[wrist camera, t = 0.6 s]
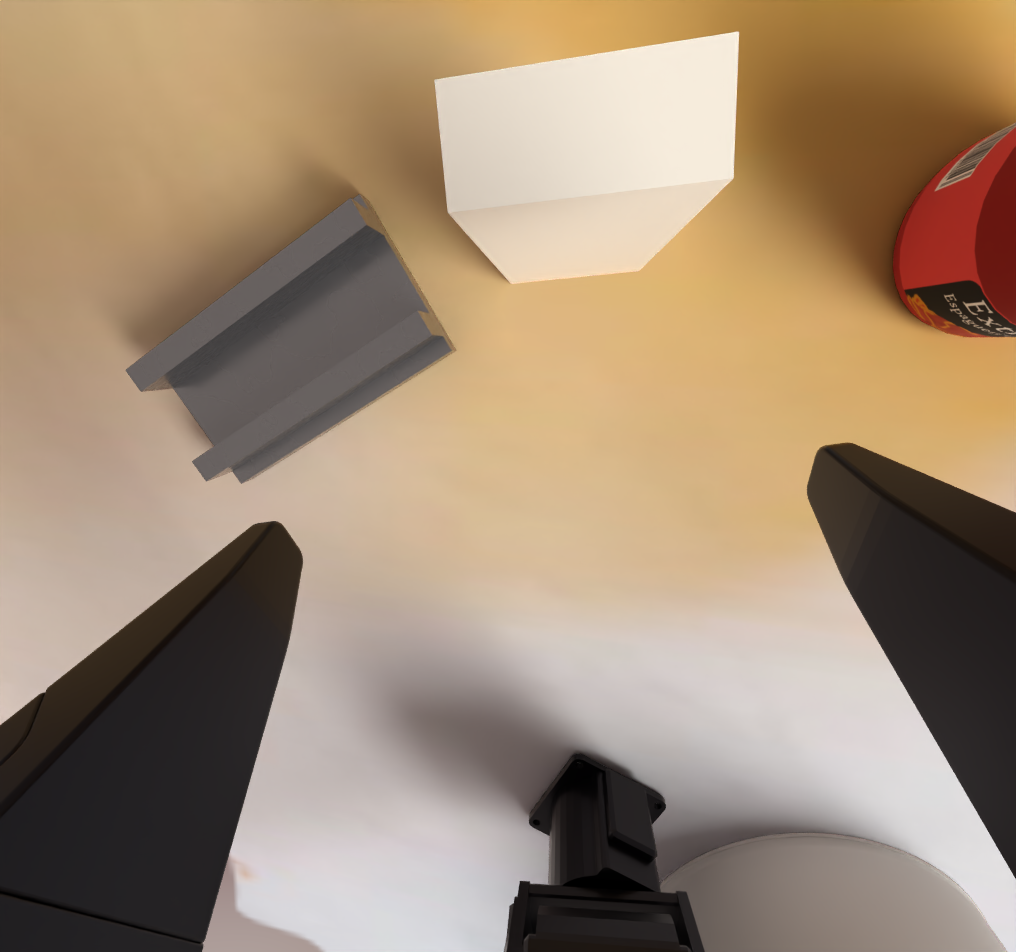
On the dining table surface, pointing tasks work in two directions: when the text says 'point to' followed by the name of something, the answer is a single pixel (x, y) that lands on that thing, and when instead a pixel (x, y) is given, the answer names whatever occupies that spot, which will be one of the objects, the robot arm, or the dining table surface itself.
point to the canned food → (964, 243)
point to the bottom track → (299, 344)
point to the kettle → (827, 898)
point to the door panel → (588, 154)
